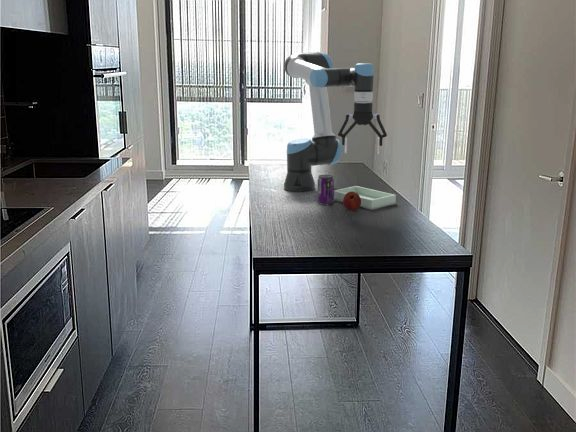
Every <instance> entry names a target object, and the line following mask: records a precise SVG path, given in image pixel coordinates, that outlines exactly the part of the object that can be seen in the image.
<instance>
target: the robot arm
mask: <svg viewBox="0 0 576 432" xmlns="http://www.w3.org/2000/svg"><path fill="white" fill-rule="evenodd" d="M283 68H284V71H285V73H286V75H287V76H289V77H291V78H293V79H302V80H305V84H307V85H308V86H309V87H308V89H309V96H310V98H309V99H310V105H311V113H312V115H311V116H312V124H313V131H314V132H313V133H314V134H313V136H312V137H311V138H297V139H294V140H290V141H289V142H288V143H287V145H286V163H287V164H286V165H287V166H286V167H287V169H286V170H287V171H286V176H285V180H284V183H283V189H284V190H285V191H288V192H309V191H313V190H315V189H316V182H315V179H314V175H313V174H312V172H313V171H312V167H314V166H326V165H327V166H330V165H334V164H337V163H338V162H339V161H340V159H341V157H342V151H343V149H342V148H343V146H344V154H347V153H348V137H347V136H348V134H350V132H351V130H353V128H355V126H356V125H359V126H362V125H363V126H367V125H369V127H371V129H372V130H373V132H375V134H376V135H377V136H378V137H377V145H376V146H377V147H376V148H377V150H376V152H377V153H376V154H377V155H379V154H380V147H382V146H383V138H385V137H387V136H388V133H387V131H386V129H385V127H384V125H383V123H382V121H381V117H380V116H381V115H380V113H376V114H373V103H372V102H373V99H374V98H373V96H374V75H375V74H374V73H375V71H374V65H373V63H370V62H367V63H365V62H364V63H356V64H355V65H354V67H337V68H336V67H334V64H333V61H332V58H331V56H330V55H329V54H328V53H326V52H319V51H317V52H295V53H292V54H290V55H289V56H288V57H287V58H286V59H285V60H284V65H283ZM331 87H332V88H333V87H339V88H340V87H354V93H353V98H354V100H353V101H354V102H353V103H354V104H353V114H351V113H346V115H345V120H344V122H343V124H342V126H341V128H340V130H339V131H338V134H337V135H338V137H341V141H340V140H339V139H337V137H336V136H337V135H336V134H334V132H333V128H332V120H331V119H332V118H331V109H330V101H329V94H328V92H329V91H328V88H331ZM373 118H374V120H376V121H377V124H378V126H379V129H380V131H381V132H380V131H379V130H378V128H377V127H376V126H375V124H374V123H373V122H372V120H373ZM351 119H353V120H354V121H353V123H352V124H351V125H350V126H349V127H348V128H347V129H346V130H345V127H346V126H347V124H348V122H349V120H351ZM344 130H345V132H344ZM343 132H344V133H343Z"/></svg>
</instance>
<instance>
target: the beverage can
mask: <svg viewBox="0 0 576 432" xmlns="http://www.w3.org/2000/svg"><path fill="white" fill-rule="evenodd" d="M334 190H335V179H334V176H333V175H332V174H320V175H318V178H317V199H316V201H317V203H319V204H321V205H325V206H326V205H331V204H333V203H335V200H334Z"/></svg>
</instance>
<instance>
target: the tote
mask: <svg viewBox="0 0 576 432" xmlns="http://www.w3.org/2000/svg"><path fill="white" fill-rule="evenodd" d="M348 192H356V193H357V194H358V195H359V196H360V198H361V205H360V207H359V208H364V209H366V210H371V211H373V210H377V209H382V208H385V207H388V206H389V207H390V206H393V205H396V201H397V200H396V197H397V194H393V193H389V192H385V191H380V190H376V189H373V188H372V189H371V188H366V187H362V186H358V185H354V186H349V187H344V188H340V189H339V188H338V189H334V201H337V202H341V203H343V199H344V196H345V195H346V194H347V193H348Z"/></svg>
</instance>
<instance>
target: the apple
mask: <svg viewBox="0 0 576 432" xmlns="http://www.w3.org/2000/svg"><path fill="white" fill-rule="evenodd" d="M360 205H361V198H360V196H359V195H358V194H357V193H356V192H348V193H347V194H346V195H345V196H344V199H343V202H342V206H343V208H344V209H345V210H347V211H348V212H349V211H350V212H353V211H357V210H358V209H359V208H361V207H360Z"/></svg>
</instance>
